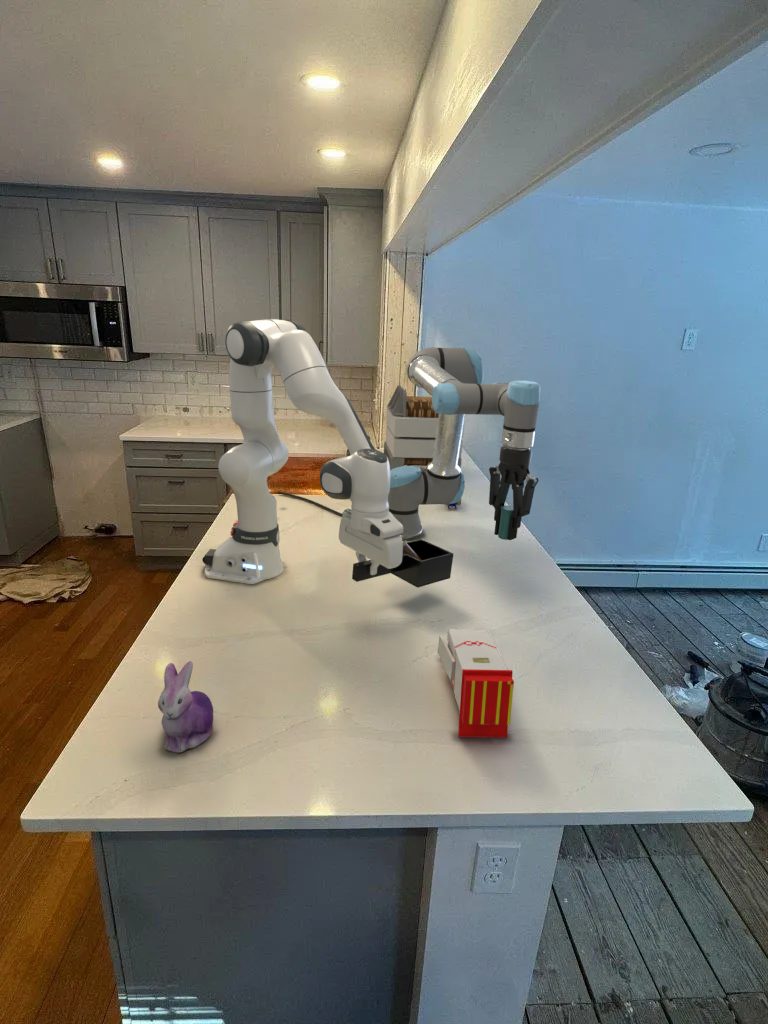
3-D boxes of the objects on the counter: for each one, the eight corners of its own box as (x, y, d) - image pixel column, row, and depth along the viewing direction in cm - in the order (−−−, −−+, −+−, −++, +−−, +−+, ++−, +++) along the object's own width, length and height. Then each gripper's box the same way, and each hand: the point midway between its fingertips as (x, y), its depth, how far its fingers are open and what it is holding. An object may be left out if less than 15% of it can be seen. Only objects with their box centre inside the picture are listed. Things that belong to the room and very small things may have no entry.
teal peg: (495, 536, 145) (498, 507, 142) (503, 533, 147) (507, 504, 145) (506, 541, 143) (510, 511, 140) (515, 537, 145) (519, 508, 142)
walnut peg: (411, 572, 152) (392, 551, 150) (418, 563, 154) (400, 542, 152) (419, 571, 149) (400, 550, 147) (426, 561, 151) (407, 540, 149)
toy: (488, 613, 130) (523, 677, 101) (484, 667, 133) (517, 744, 104) (435, 612, 130) (455, 676, 101) (432, 666, 133) (451, 743, 103)
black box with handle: (338, 582, 142) (340, 556, 140) (418, 562, 160) (421, 538, 158) (369, 602, 133) (371, 574, 131) (450, 578, 151) (453, 553, 149)
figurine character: (461, 514, 225) (456, 498, 239) (463, 497, 222) (458, 482, 235) (444, 513, 225) (440, 498, 239) (446, 496, 222) (442, 481, 235)
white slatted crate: (382, 463, 289) (386, 382, 275) (445, 464, 293) (451, 384, 279) (390, 482, 257) (394, 392, 243) (460, 483, 261) (468, 394, 247)
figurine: (165, 763, 97) (157, 690, 92) (158, 725, 105) (150, 656, 100) (221, 746, 101) (217, 675, 96) (210, 711, 109) (205, 644, 104)
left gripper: (333, 508, 139) (332, 559, 144) (387, 534, 125) (384, 590, 129) (353, 503, 143) (352, 553, 148) (408, 528, 129) (405, 583, 133)
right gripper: (480, 441, 140) (470, 529, 148) (536, 456, 129) (522, 550, 137) (499, 438, 145) (489, 523, 153) (555, 452, 133) (541, 543, 141)
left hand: (367, 571), depth 139 cm, fingers closed on black box with handle
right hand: (505, 536), depth 145 cm, fingers closed on teal peg, 3 cm apart
